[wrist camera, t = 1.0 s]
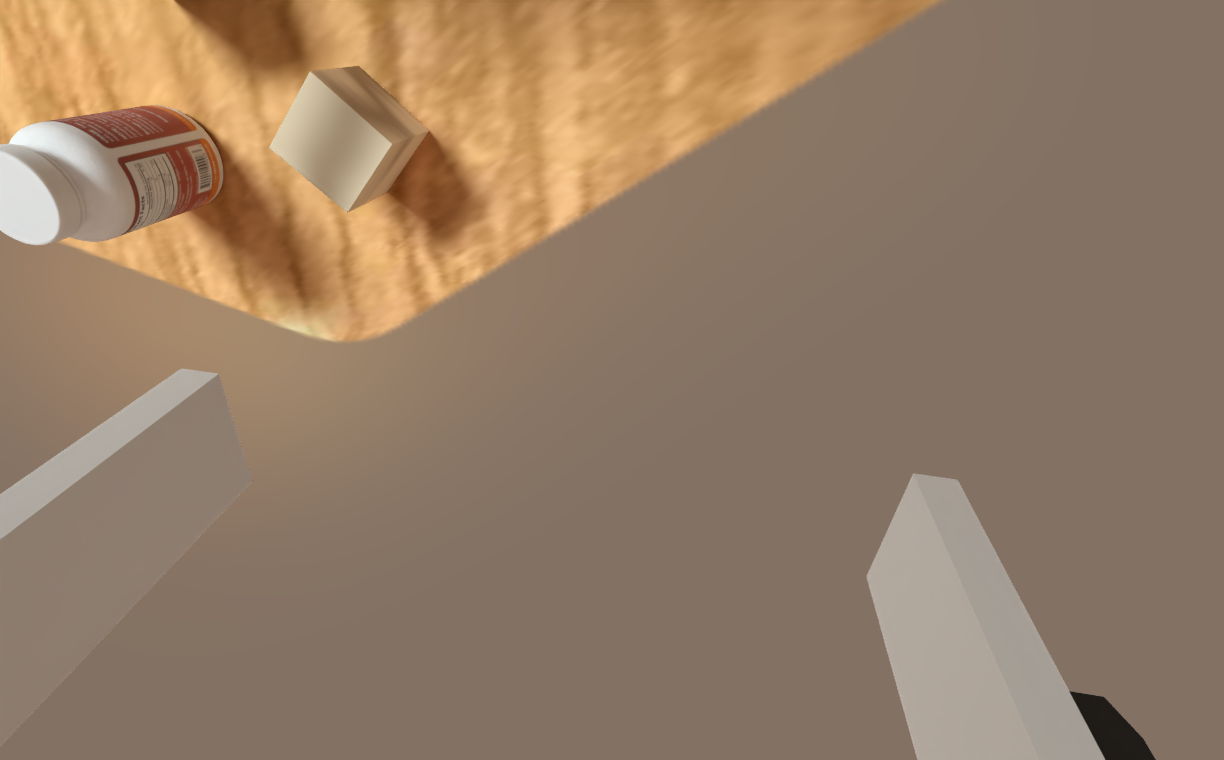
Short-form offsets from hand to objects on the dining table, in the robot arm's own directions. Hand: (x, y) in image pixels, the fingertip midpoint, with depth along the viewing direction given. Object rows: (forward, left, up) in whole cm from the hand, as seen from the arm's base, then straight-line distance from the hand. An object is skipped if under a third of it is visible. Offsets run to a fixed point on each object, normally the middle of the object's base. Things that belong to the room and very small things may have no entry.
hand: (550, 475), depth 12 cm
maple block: (-11, -13, -28) cm, 33 cm away
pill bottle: (-17, -25, -28) cm, 41 cm away
